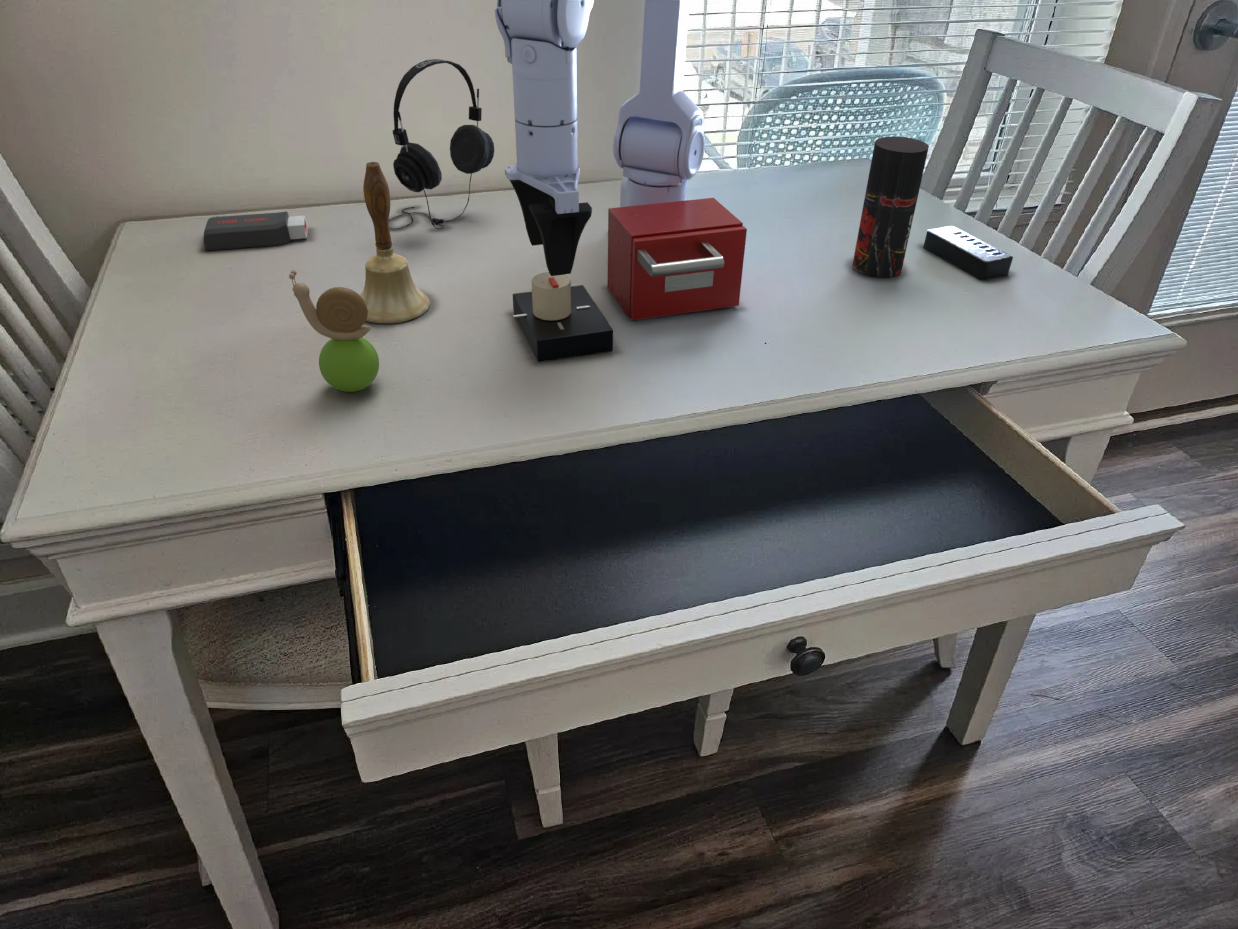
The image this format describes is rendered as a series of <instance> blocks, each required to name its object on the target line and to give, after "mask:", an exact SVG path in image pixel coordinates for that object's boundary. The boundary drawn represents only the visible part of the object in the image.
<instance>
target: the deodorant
mask: <svg viewBox="0 0 1238 929" xmlns="http://www.w3.org/2000/svg"><path fill="white" fill-rule="evenodd" d="M929 148H930V146H929V144H928V143H926V142H925V141H922V140H919V139H917V138H913V137H908V136H907V137H906V136H897V135H896V136H892V135H891V136H883V137H879V138H877V139H875V140H874V144H873V151H872V157H871V161H870V166H869V172H868V178H867V183H866V189H865V193H864V200H863V205H862V209H861V216H860V222H859V226H858V232H857V237H856V244H855V249H854V254H853V260H852V269H853V270H854V272H856V273H858V274H859V275H862V276H864V277H867V278H868V277H869V278H873V279H884V280H885V279H892V278H897V277H898V276H900V275H901V274H902V271H903V267H904V262H905V257H906V253H907V247H908V243H909V239H910V234H911V230H912V225H913V221H914V216H915V212H916V207H917V202H918V198H919V193H920V190H921V184H922V180H923V176H924V170H925V166H926V161H927V157H928V153H929Z"/></svg>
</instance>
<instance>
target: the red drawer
mask: <svg viewBox="0 0 1238 929" xmlns="http://www.w3.org/2000/svg"><path fill="white" fill-rule="evenodd" d="M747 233H748V228H747V227H745V226H744V225H743V226H742V227H733V228H724V229H715V230H706V231H698V232H689V233H680V234H671V235H662V236H653V237H645V238H636V239H633V249H632V285H631V318H632V319H631V320H632V321H638V320H645V319H651V318H658V317H666V316H674V315H680V314H688V313H695V312H703V311H709V310H716V309H723V308H731V307H738V306H739V305H740V297H741V288H742V280H743V279H742V278H743V270H744V259H745V250H746V243H747V242H746V241H747Z"/></svg>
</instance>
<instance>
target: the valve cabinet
mask: <svg viewBox="0 0 1238 929" xmlns="http://www.w3.org/2000/svg"><path fill="white" fill-rule="evenodd" d="M607 209H608V210H607V217H608V218H607V222H608V223H607V290H608V292H609V293H610V294H611V296H612V297H613V298H614V300H615V301H616V302H617V303H618V306H620V308H621V310H623V312H624V313H625V315H626V316H627V318H628V319H630V320H632V318H631V285H632V249H633V239H636V238H645V237H653V236H662V235H671V234H680V233H689V232H698V231H706V230H715V229H724V228H733V227H742V226H744V223H743V222H742V221H741V220H740V219H739V218H738V217H737V216H735V215H734V214H733V213H732V212H731V211H730V210H729V209H728V208H726V207H725V206H724V205H723V204H721V203H720V202H719V201H718V200H717V199H716V198H715V197H707V198H696V199H686V201H676V202H666V203H657V204H647V205H637V206H628V207H620V206H619V207H611V208H607Z"/></svg>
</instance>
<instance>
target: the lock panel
mask: <svg viewBox="0 0 1238 929" xmlns="http://www.w3.org/2000/svg"><path fill="white" fill-rule="evenodd" d="M512 310H513V316H512V317H513V319H515V320H516V322H517V324H518V326H519V328H520V330H521V332H522V334H523V335H524V338H525V340H526V342H527V343H528V345H529V348H530V350H531V352H532V354H533V355H534V357H535V359H536V362H537V363H543V362H550V361H556V360H563V359H569V358H577V357H583V356H590V355H596V354H602V353H603V354H604V353H610V352H613V351H614V328H613V327H612V326H611V325H610V323H609V321H608V320H607V318H606V317H605V315H604V314H603V312H602V311H601V310H600V308H599V306H598V305H597V304H596V302H595V301H594V299H593V298H592V295H590V293H589V291H588V290H587V289H586V287H585V286H584V285H583V284H580V285H579V284H578V285H571V313H570V315H569V316H568V317H566V318H564V319H560V320H553V321H551V320H543V319H539V318H537V317H536V316H535V315H534V314H533V305H532V290H531V291H524V292H517V293H516V292H515V293H512Z"/></svg>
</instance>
